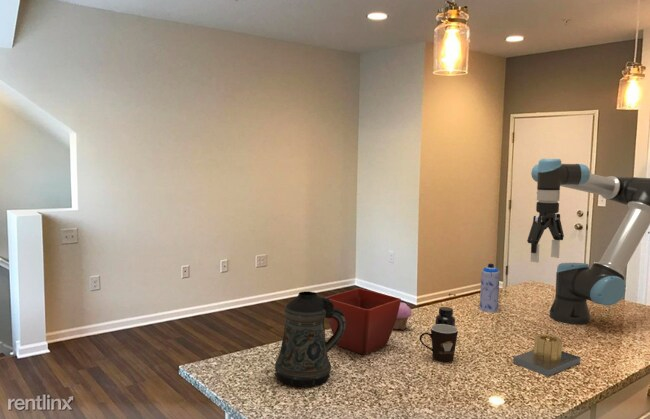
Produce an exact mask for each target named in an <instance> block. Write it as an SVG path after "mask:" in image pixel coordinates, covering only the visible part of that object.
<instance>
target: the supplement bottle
mask: <svg viewBox="0 0 650 419" xmlns="http://www.w3.org/2000/svg"><path fill="white" fill-rule="evenodd" d="M434 321H435V324H434V325H437V324H445V325H451V326H454V327H456V318H455V317H454V309H453V308H451V307H449V306H440V307H439V308H438V314H437V315H436V317H435V320H434Z"/></svg>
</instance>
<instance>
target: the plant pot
mask: <svg viewBox="0 0 650 419" xmlns="http://www.w3.org/2000/svg"><path fill="white" fill-rule="evenodd" d="M324 298H328V299H330V300H331V302H332V303H333V308H338V309H339V310H340V311H342V312H343V314H344V318H345V323H346V325H345V331H344V333H343V335H342V337H341V339H340V340H339V341H338V343H337V344H336V345H337V346H339V347H342V348H344V349H345V350H346V349H347V350H349V351H353V352H355V353H357V354H361V355H367V354H368V355H369V353H372V352H374V351H376V350H379V349H381V348H385V347H386V346H387V345H388V342H389V340H390V338H391V336H392V333H393V329H394V325H395V322H396V318H397V315H398V311H399V307H400V303H402V301H401V298H399V297H396V296H392V295H387V294H383V293H380V292H376V291H372V290H367V289H363V288H354V289H351V290H347V291H343V292H340V293H335V294H331V295H329V296H325V297H324ZM327 319H328V323H329V327H330V330H331V332H332V335H333V334H334V333H335V331H336V329H337V327H338V323H337V321H336V319H334V318H327Z"/></svg>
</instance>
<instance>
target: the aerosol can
mask: <svg viewBox="0 0 650 419" xmlns="http://www.w3.org/2000/svg"><path fill="white" fill-rule="evenodd" d="M500 274H501V273H500V270H499V269H498V268H497V267H495V265H494V263H488V264H487V266H486V267H483V269H482V270H481V273H480V276H481V277H480V294H479V308H478V309H479V310H480V311H481V312H485V313H497V312H498V311H499V294H500V292H499V291H500V277H501V276H500Z"/></svg>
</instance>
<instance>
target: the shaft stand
mask: <svg viewBox="0 0 650 419" xmlns="http://www.w3.org/2000/svg"><path fill="white" fill-rule="evenodd" d="M512 363H513V364H514V365H518V366H520V367H522V368H525V369H527V370H528V369H529V370H530V371H533V372H536V373H538V374H541V375H543V376H546V377H551V376H553V375H555V374H558V373H560V372H562V371H563V372H564V371H565V370H567V369H570V368H572V367H575V366H577V365H579V364H581V356H578V355H574V354H573V353H572V354H571V353H570V352H565V351H564V350H562V352H561V361H558V362H547V361H542V360H539V359H537V358H535V357H534V349H532V350H529V351H525V352H524V353H520V354H518V355H515V356H513V362H512Z"/></svg>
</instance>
